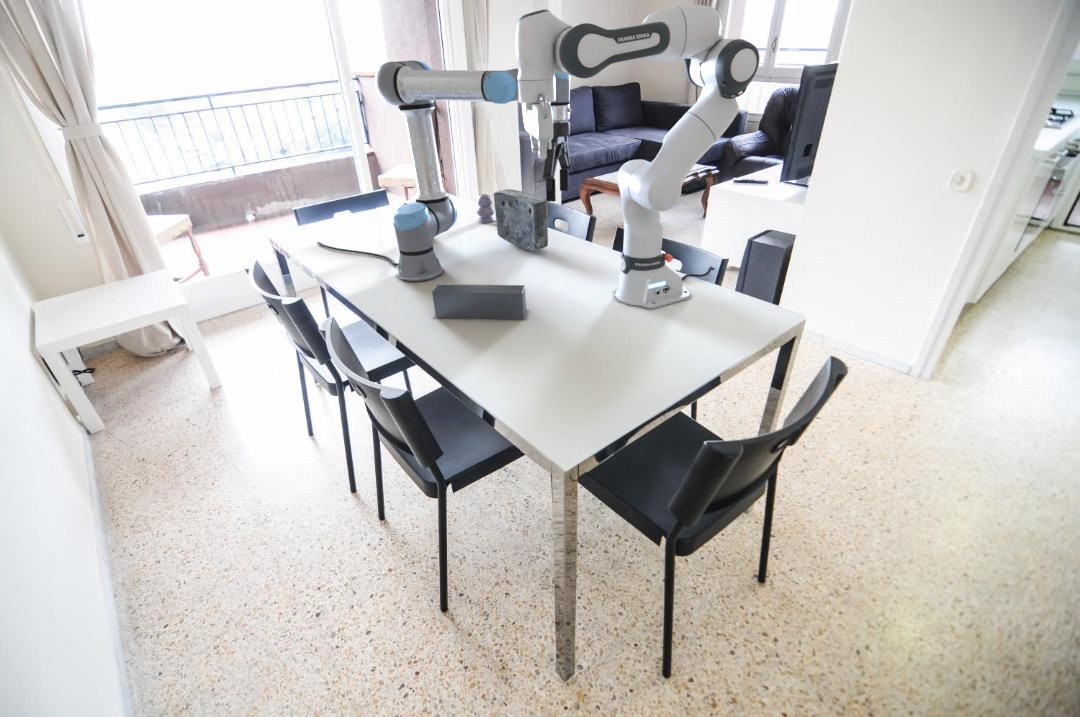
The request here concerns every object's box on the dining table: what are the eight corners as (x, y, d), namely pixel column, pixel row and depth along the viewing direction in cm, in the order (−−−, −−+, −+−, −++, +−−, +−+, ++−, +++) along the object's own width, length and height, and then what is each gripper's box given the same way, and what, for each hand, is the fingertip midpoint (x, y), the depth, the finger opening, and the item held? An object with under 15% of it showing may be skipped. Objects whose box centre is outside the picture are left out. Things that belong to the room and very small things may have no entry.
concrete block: (553, 252, 189) (552, 199, 179) (534, 258, 185) (532, 204, 175) (514, 236, 208) (511, 187, 198) (496, 241, 204) (492, 191, 193)
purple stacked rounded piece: (498, 220, 229) (496, 193, 223) (486, 224, 225) (483, 197, 218) (486, 217, 234) (484, 191, 228) (473, 221, 230) (471, 194, 223)
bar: (436, 318, 146) (431, 292, 141) (441, 309, 151) (437, 284, 146) (523, 319, 143) (522, 293, 139) (526, 311, 148) (524, 285, 143)
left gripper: (556, 126, 134) (557, 206, 145) (580, 116, 154) (580, 187, 165) (530, 126, 136) (533, 205, 147) (557, 116, 156) (558, 186, 167)
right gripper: (559, 95, 109) (560, 161, 117) (542, 90, 127) (543, 148, 134) (531, 97, 109) (533, 163, 116) (517, 91, 126) (520, 150, 133)
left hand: (557, 195), depth 156 cm, fingers open, 13 cm apart
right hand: (539, 155), depth 125 cm, fingers open, 8 cm apart
